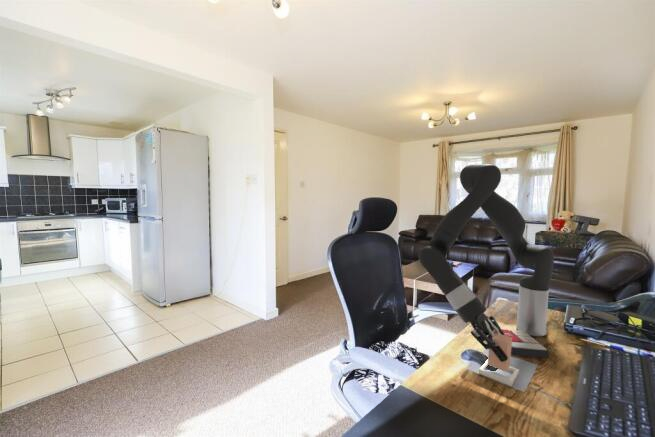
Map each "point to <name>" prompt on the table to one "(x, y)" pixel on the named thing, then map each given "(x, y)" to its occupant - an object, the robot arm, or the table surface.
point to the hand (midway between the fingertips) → (507, 356)
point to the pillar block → (506, 346)
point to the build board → (508, 372)
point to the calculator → (525, 344)
